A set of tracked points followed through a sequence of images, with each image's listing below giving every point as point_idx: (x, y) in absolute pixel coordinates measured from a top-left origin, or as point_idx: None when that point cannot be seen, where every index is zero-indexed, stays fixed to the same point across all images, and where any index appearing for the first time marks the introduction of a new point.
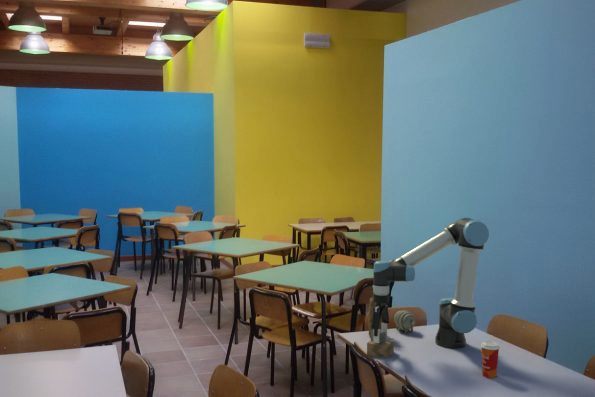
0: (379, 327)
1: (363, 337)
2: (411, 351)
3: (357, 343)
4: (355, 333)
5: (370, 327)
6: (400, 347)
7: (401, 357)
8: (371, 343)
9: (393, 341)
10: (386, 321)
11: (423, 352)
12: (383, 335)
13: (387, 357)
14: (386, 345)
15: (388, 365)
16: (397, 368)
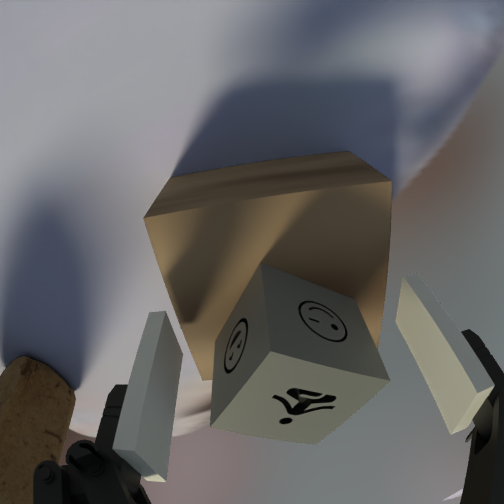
0: (24, 405)
1: (102, 407)
2: (63, 81)
3: (196, 402)
4: (96, 433)
5: (65, 433)
6: (49, 196)
7: (255, 59)
8: (372, 329)
9: (163, 212)
10: (120, 482)
11: (34, 11)
12: (301, 326)
13: (338, 152)
14: (367, 201)
15: (467, 90)
16: (478, 26)
